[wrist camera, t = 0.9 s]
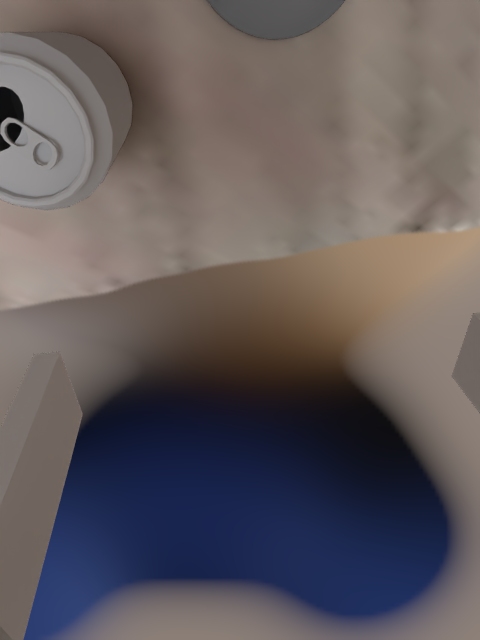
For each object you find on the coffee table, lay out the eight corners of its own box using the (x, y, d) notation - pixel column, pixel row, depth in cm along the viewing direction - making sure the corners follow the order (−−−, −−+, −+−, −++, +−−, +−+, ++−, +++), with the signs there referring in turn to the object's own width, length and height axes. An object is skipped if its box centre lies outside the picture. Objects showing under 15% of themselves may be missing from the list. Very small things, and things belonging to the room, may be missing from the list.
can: (45, 0, 25) (-46, -21, 15) (155, 89, 28) (140, 120, 18) (-5, 112, 28) (-109, 156, 18) (100, 181, 31) (61, 251, 21)
